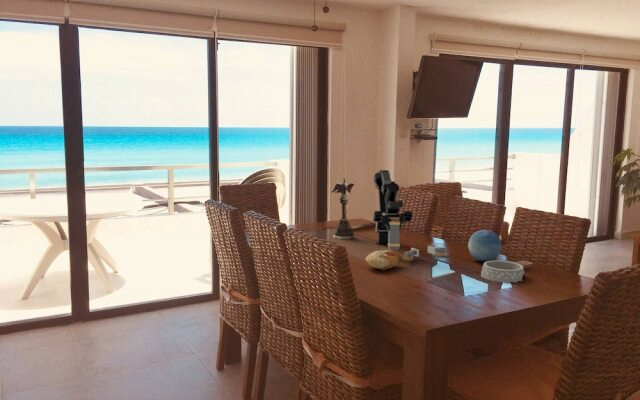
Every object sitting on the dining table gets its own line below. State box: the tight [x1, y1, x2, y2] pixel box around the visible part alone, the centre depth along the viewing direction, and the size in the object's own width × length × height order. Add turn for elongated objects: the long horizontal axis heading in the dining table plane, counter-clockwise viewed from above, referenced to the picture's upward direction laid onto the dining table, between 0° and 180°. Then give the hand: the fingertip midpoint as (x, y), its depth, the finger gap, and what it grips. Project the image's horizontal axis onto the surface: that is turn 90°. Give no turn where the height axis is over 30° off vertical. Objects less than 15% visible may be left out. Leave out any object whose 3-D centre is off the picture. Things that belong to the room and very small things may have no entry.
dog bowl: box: [480, 260, 526, 284], centre depth 235 cm, size 17×18×5 cm
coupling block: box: [387, 220, 401, 250], centre depth 267 cm, size 5×5×13 cm
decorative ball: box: [467, 229, 502, 263], centre depth 259 cm, size 15×15×15 cm
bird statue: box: [330, 177, 355, 240], centre depth 314 cm, size 17×13×35 cm
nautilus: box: [365, 249, 410, 271], centre depth 247 cm, size 8×21×15 cm
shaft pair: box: [402, 245, 447, 262], centre depth 267 cm, size 6×23×5 cm, turn 116°
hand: (394, 230), depth 265 cm, fingers closed on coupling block, 5 cm apart
